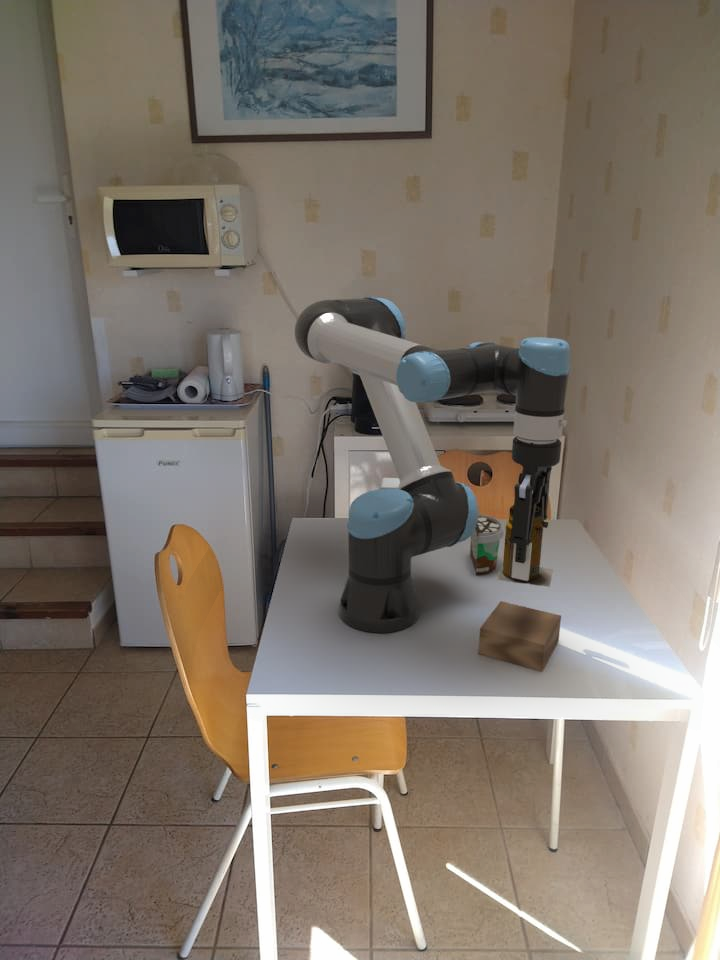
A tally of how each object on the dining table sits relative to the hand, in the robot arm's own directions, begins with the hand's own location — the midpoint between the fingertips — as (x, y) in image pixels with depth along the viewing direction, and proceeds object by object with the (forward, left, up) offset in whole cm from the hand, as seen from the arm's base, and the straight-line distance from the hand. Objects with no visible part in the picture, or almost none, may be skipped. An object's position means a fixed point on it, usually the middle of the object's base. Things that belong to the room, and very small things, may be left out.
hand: (525, 570), depth 120 cm
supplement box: (-42, +37, -15) cm, 58 cm away
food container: (-16, +29, -15) cm, 36 cm away
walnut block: (0, 0, -15) cm, 15 cm away
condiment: (0, 0, -1) cm, 1 cm away
